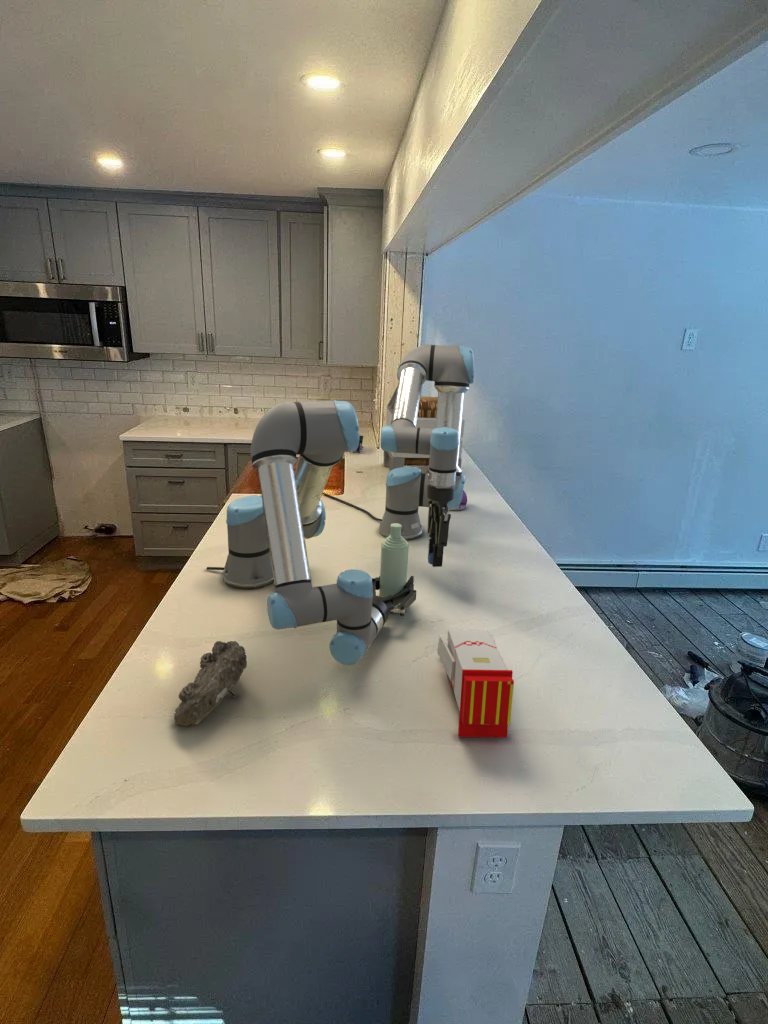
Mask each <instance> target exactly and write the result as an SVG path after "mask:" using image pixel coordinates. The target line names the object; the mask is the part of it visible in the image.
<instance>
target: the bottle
mask: <svg viewBox="0 0 768 1024" xmlns="http://www.w3.org/2000/svg"><path fill="white" fill-rule="evenodd" d="M390 527H391V532H390V535H389V536H388V537H385V538H384V539H383V540H382V542H381V545H380V563H379V564H380V566H379V568H380V569H379V576H380V587H379V590H378V596H380V597H385V598H386V597H387V596H389V595H394V594H396V593H398V592H400V591H402V590H403V589H404V586H405V584H406V583H407V581H408V580H407V579H408V578H407V577H408V565H409V564H408V563H409V549H410V545H409V543H408V540H405V539H404V538H403V537H402V536H401V529H402V526H401V524H398V523H393V524H391V526H390ZM397 606H398V605H396V606H395V607H397ZM394 613H395V614H396V612H394ZM394 613H393V614H394Z"/></svg>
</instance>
